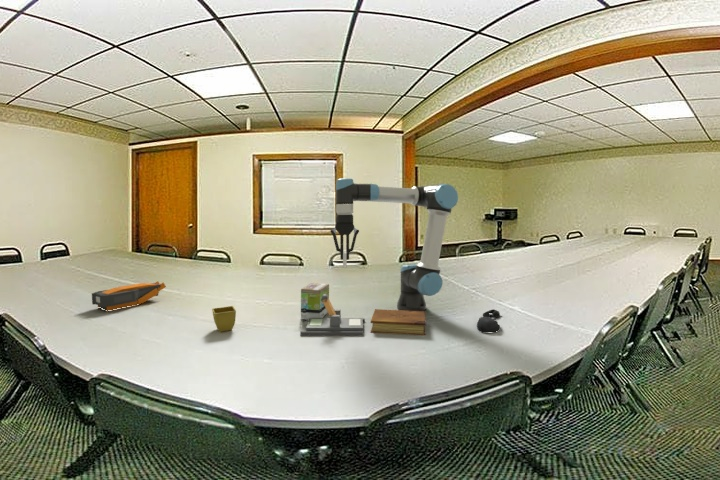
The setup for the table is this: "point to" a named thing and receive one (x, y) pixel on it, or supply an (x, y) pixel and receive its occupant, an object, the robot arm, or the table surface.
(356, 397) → the table surface
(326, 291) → the tea box
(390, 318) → the diary
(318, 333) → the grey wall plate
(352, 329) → the breaker panel
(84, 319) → the table surface
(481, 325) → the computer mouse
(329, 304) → the lever
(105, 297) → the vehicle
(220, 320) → the flower pot
